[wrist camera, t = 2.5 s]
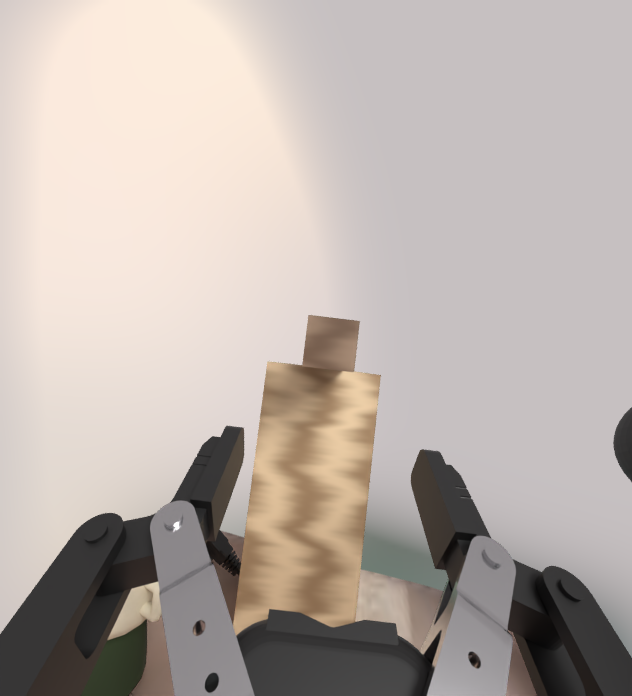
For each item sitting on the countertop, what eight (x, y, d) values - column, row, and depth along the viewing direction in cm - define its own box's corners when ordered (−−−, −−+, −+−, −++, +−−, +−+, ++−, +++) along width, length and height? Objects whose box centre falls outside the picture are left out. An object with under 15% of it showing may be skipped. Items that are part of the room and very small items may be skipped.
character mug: (25, 691, 25) (51, 541, 26) (109, 627, 32) (128, 509, 33) (99, 773, 21) (127, 591, 22) (178, 680, 28) (198, 543, 28)
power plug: (246, 597, 37) (188, 526, 39) (209, 637, 37) (153, 564, 40) (261, 568, 43) (209, 507, 45) (229, 602, 43) (179, 541, 45)
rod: (333, 369, 44) (335, 344, 45) (354, 372, 22) (359, 321, 22) (307, 366, 44) (310, 341, 45) (302, 366, 22) (308, 315, 22)
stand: (334, 582, 42) (357, 372, 44) (346, 700, 27) (380, 375, 30) (256, 573, 42) (282, 363, 44) (224, 686, 27) (267, 361, 29)
